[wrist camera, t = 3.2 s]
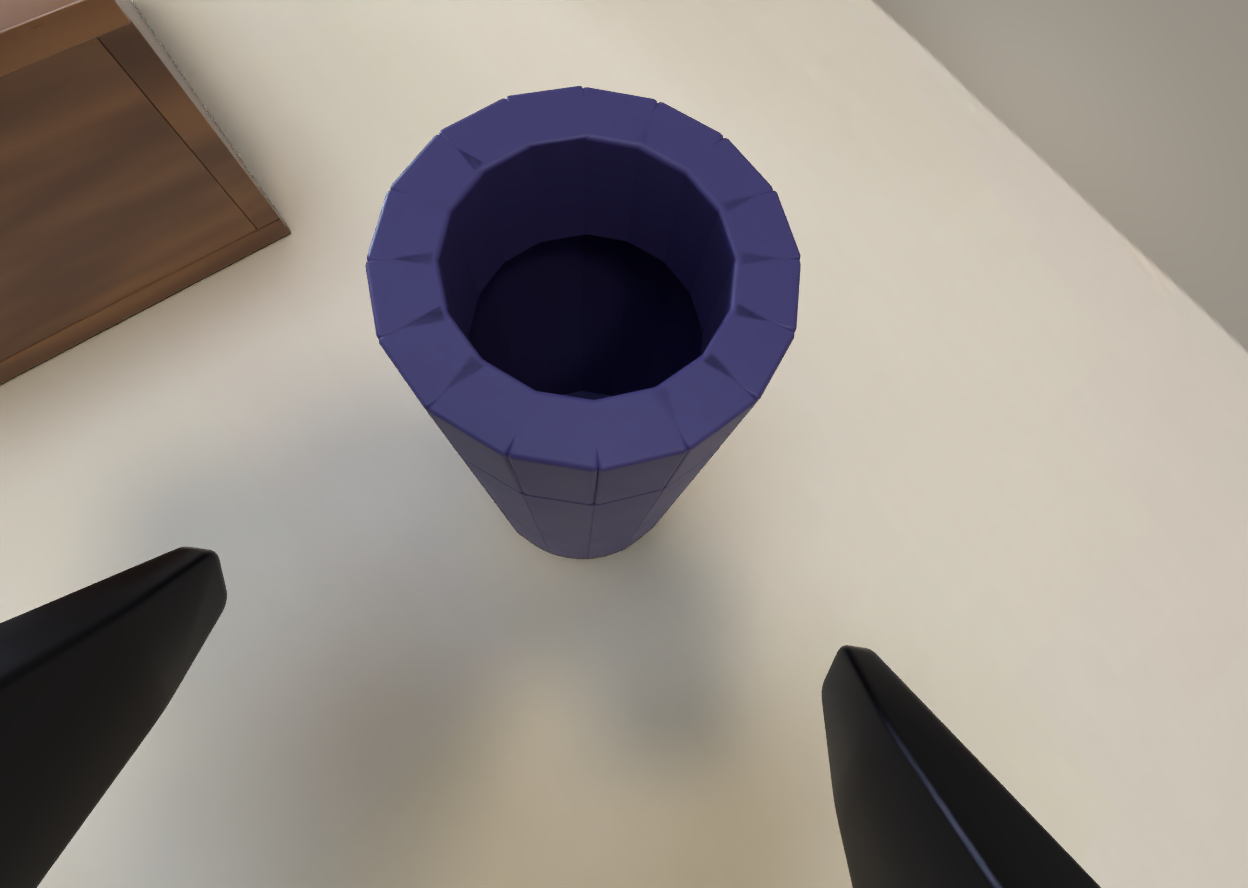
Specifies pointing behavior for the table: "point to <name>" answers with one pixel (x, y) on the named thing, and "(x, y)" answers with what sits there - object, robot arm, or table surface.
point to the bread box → (111, 193)
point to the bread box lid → (52, 27)
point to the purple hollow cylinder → (583, 304)
